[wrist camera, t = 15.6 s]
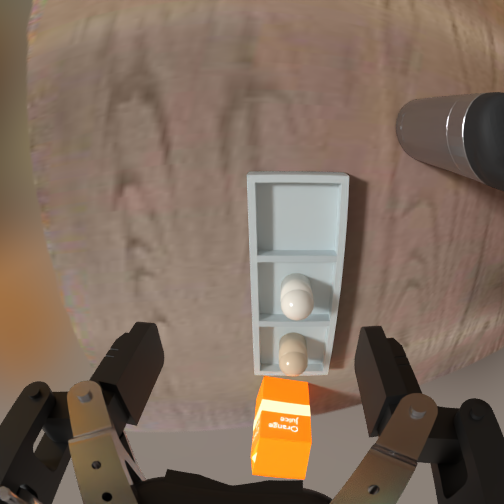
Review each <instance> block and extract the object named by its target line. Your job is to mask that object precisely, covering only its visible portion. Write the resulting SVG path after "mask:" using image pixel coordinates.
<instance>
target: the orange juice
mask: <svg viewBox="0 0 504 504" xmlns="http://www.w3.org/2000/svg"><path fill="white" fill-rule="evenodd" d="M311 444H312V439H311V422H310V405H309V392H308V382H300V381H293V380H287V379H280V378H274V377H268V376H264V378H263V381H262V384H261V387H260V390H259V393H258V396H257V400H256V410H255V420H254V428H253V440H252V451H251V464H252V474H253V475H259V476H268V477H278V478H290V479H291V478H292V479H305V474H306V469H307V463H308V458H309V452H310V447H311Z"/></svg>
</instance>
